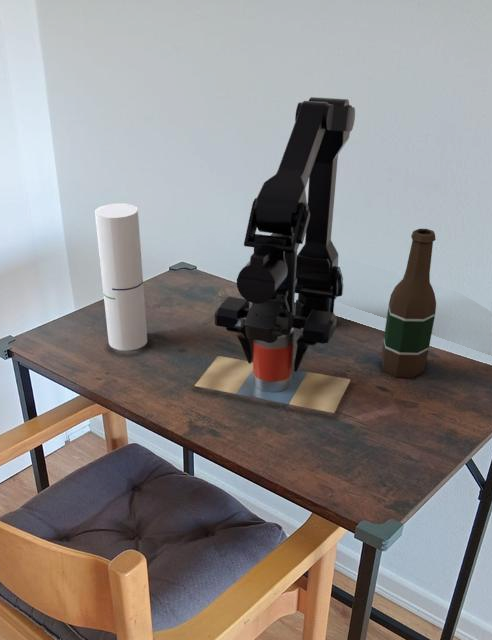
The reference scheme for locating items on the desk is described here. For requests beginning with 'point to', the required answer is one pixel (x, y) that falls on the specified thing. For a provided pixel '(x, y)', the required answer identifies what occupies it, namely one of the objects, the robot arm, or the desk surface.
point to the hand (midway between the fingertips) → (273, 366)
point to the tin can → (273, 363)
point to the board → (309, 393)
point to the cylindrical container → (122, 275)
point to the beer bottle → (411, 312)
